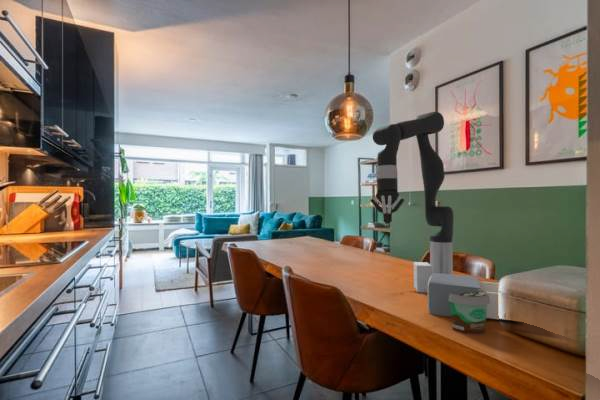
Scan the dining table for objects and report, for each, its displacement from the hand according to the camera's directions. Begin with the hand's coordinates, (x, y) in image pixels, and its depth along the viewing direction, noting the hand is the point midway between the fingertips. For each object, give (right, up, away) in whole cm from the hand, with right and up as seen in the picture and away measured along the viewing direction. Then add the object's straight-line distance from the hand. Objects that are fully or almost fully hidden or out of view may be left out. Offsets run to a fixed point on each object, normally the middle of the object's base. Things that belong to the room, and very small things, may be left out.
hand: (387, 223), depth 116 cm
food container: (+14, -27, -34) cm, 45 cm away
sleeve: (+17, -27, -17) cm, 36 cm away
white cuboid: (+21, -26, -19) cm, 38 cm away
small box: (+16, -27, +6) cm, 32 cm away
